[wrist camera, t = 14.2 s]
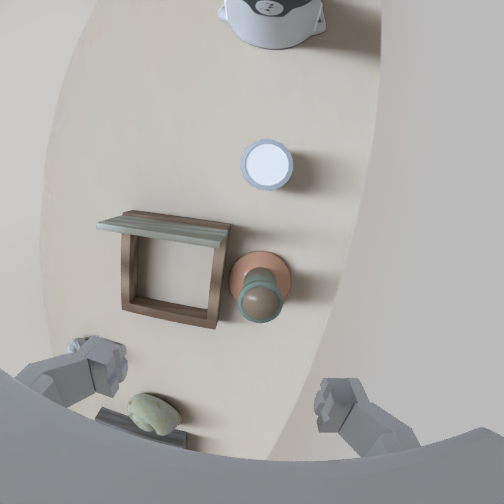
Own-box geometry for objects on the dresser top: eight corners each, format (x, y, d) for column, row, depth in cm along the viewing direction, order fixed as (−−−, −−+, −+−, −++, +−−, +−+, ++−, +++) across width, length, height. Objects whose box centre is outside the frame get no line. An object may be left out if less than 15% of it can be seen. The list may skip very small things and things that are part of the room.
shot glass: (296, 175, 41) (303, 174, 34) (258, 197, 42) (257, 200, 35) (273, 138, 39) (275, 129, 32) (234, 160, 40) (230, 155, 33)
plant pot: (244, 261, 43) (241, 279, 35) (281, 267, 43) (286, 286, 35) (238, 296, 45) (235, 319, 37) (274, 301, 45) (278, 325, 37)
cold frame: (132, 210, 42) (96, 219, 31) (230, 223, 43) (220, 238, 32) (129, 301, 47) (100, 331, 35) (218, 319, 47) (207, 357, 36)
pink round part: (233, 246, 44) (233, 247, 43) (295, 256, 44) (296, 257, 43) (226, 302, 46) (225, 305, 45) (283, 311, 46) (284, 314, 45)
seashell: (129, 433, 48) (116, 411, 44) (135, 409, 55) (125, 385, 51) (181, 441, 49) (174, 420, 45) (184, 415, 56) (179, 392, 52)
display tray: (102, 406, 55) (94, 418, 50) (186, 432, 56) (182, 446, 51) (116, 450, 61) (112, 461, 56) (187, 470, 61) (184, 482, 57)
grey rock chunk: (104, 349, 50) (89, 367, 43) (87, 357, 51) (72, 374, 44) (87, 327, 49) (71, 343, 42) (71, 336, 50) (55, 351, 43)
